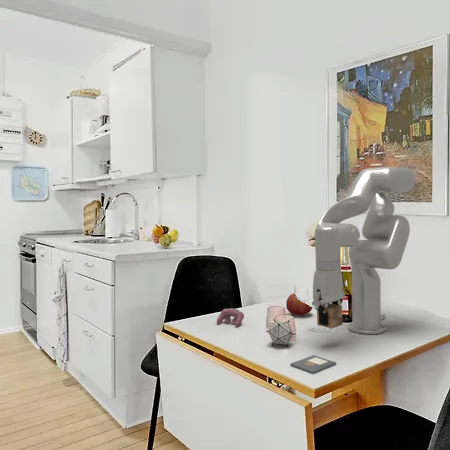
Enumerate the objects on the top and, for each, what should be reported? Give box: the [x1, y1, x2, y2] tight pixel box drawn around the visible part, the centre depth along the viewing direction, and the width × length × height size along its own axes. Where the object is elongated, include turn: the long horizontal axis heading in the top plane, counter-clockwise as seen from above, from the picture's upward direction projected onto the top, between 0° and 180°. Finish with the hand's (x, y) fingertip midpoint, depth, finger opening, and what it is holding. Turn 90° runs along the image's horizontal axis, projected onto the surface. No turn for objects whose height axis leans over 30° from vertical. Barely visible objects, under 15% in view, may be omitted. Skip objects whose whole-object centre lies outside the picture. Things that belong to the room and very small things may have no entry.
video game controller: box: [216, 307, 245, 328], centre depth 164 cm, size 10×5×7 cm, turn 58°
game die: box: [265, 318, 296, 348], centre depth 138 cm, size 9×8×10 cm
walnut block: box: [316, 303, 344, 329], centre depth 136 cm, size 6×6×6 cm
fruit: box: [285, 292, 313, 316], centre depth 174 cm, size 11×10×10 cm
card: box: [289, 354, 337, 375], centre depth 121 cm, size 10×8×1 cm
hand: (329, 321), depth 137 cm, fingers closed on walnut block, 5 cm apart
